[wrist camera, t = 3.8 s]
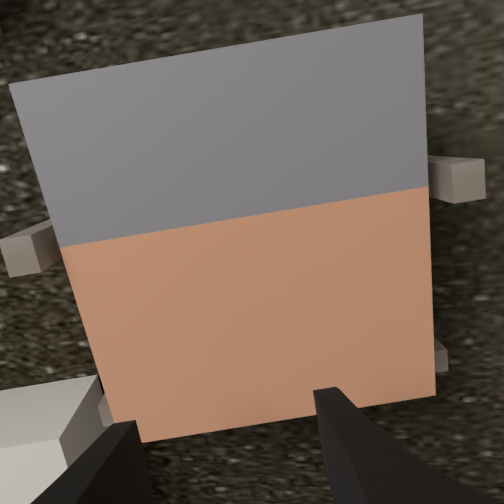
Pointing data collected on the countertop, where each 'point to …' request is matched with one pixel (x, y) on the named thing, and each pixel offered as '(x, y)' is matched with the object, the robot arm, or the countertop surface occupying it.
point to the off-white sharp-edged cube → (45, 433)
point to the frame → (440, 187)
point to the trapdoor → (245, 224)
